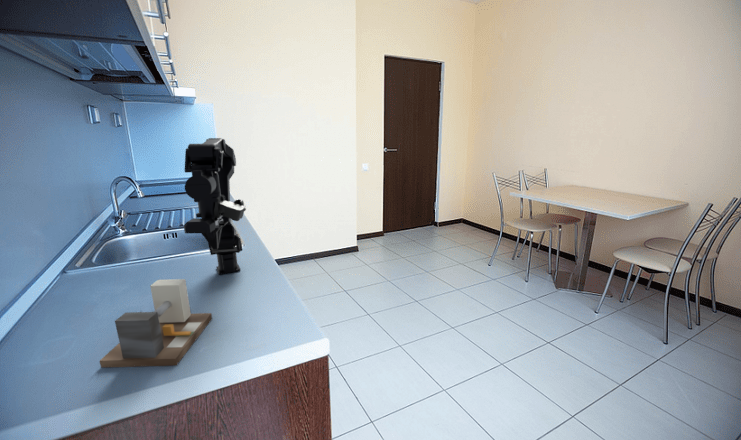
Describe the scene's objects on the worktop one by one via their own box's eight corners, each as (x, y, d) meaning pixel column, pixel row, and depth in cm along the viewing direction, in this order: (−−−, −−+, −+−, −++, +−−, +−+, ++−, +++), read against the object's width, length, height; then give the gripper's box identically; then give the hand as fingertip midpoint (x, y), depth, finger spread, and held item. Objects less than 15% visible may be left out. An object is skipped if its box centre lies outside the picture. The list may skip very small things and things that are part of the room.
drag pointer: (166, 333, 71) (164, 324, 71) (191, 332, 72) (190, 323, 71) (163, 336, 70) (162, 327, 70) (189, 335, 71) (187, 326, 70)
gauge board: (151, 320, 80) (144, 283, 78) (212, 318, 81) (207, 282, 78) (101, 367, 64) (90, 323, 62) (176, 365, 65) (168, 321, 62)
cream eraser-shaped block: (164, 315, 78) (158, 279, 76) (190, 314, 78) (185, 279, 76) (146, 333, 71) (138, 294, 69) (175, 332, 72) (168, 293, 69)
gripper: (226, 199, 80) (233, 261, 84) (250, 186, 98) (255, 238, 102) (178, 199, 79) (187, 262, 83) (211, 186, 97) (217, 238, 101)
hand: (215, 248), depth 93 cm, fingers closed
